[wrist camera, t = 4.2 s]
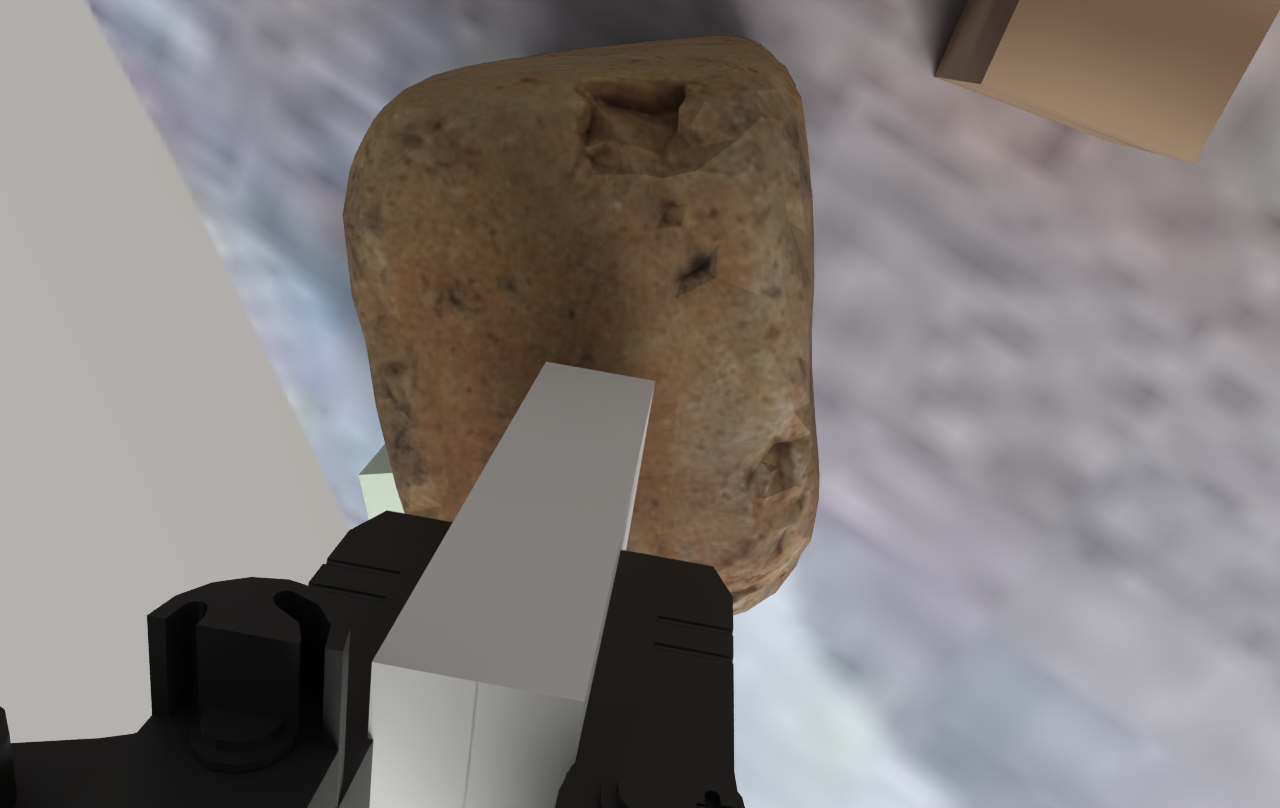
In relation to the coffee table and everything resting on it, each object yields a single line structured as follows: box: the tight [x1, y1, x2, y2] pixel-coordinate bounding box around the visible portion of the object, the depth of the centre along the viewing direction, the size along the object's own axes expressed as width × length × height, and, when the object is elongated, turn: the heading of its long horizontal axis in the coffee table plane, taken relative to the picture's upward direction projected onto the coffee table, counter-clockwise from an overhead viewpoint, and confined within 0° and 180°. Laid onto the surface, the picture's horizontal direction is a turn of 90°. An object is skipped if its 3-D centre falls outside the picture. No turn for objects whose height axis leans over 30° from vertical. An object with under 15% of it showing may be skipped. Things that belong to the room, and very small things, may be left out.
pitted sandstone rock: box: [343, 36, 819, 615], centre depth 23 cm, size 11×8×20 cm
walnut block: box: [934, 0, 1280, 163], centre depth 26 cm, size 6×6×6 cm
